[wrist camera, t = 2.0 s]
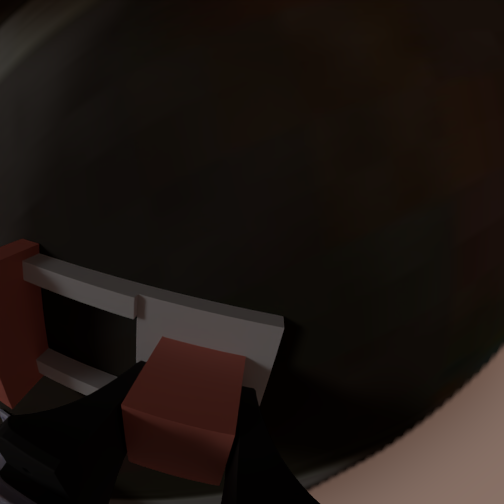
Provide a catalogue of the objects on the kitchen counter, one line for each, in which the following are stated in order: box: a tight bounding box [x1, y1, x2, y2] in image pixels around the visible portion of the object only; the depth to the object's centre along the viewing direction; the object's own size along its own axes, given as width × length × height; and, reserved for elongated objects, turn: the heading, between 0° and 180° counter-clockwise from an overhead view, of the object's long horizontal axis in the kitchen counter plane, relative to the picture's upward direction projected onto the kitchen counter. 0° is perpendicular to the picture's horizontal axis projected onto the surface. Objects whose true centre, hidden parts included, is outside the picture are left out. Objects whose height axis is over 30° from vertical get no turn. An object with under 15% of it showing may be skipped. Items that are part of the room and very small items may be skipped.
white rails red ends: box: [0, 239, 284, 486], centre depth 11 cm, size 8×14×5 cm, turn 78°
